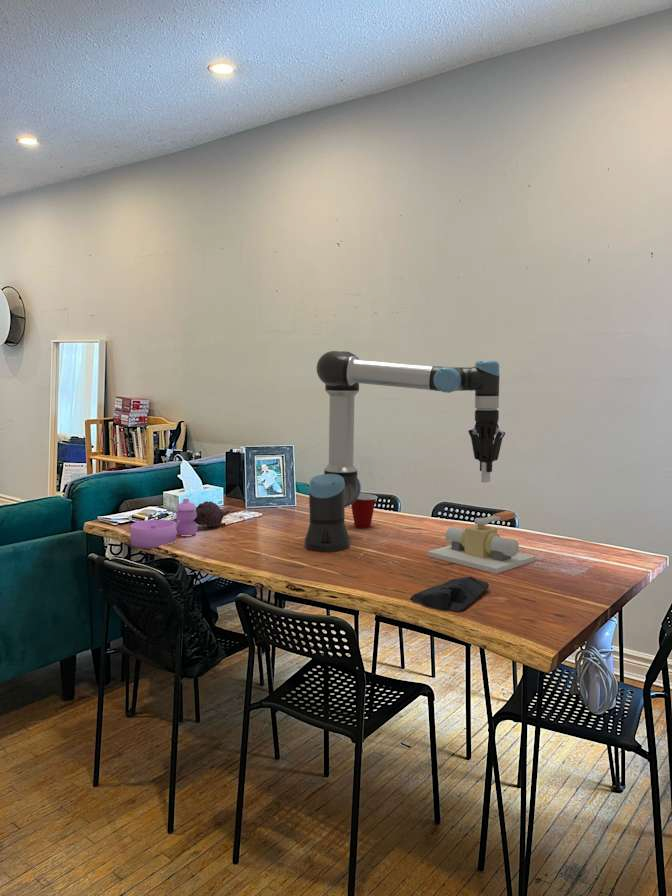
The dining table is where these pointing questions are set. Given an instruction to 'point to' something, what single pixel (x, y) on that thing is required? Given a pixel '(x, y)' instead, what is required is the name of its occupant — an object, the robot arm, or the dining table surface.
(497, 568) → the pipe board
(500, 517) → the valve lever
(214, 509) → the pine cone
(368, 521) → the plastic cup
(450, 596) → the black crumpled cloth
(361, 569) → the dining table surface
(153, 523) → the container set
